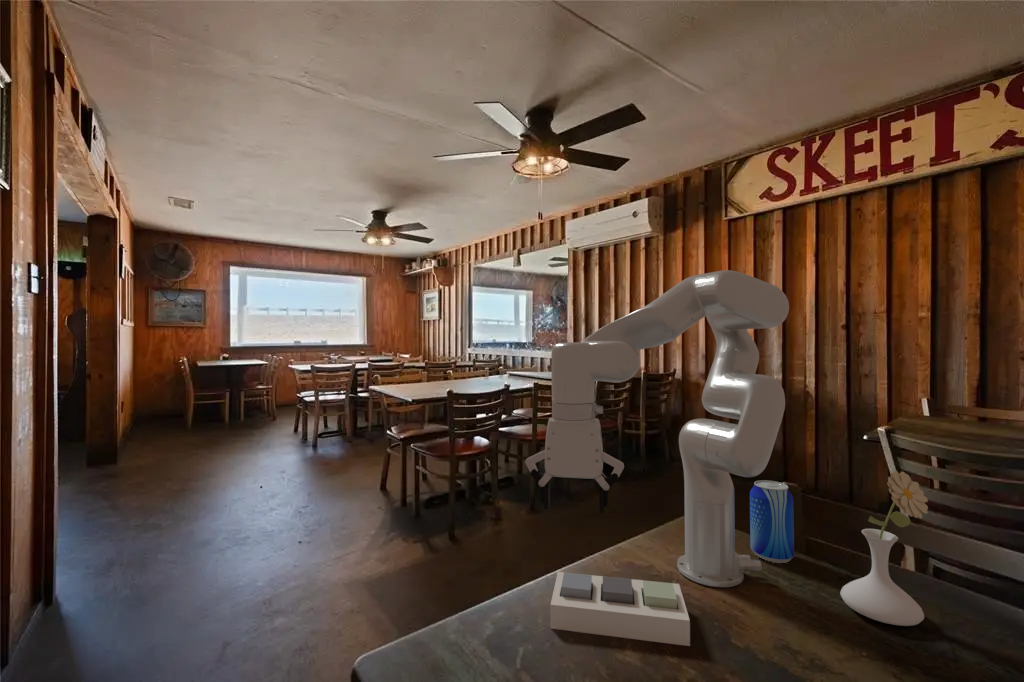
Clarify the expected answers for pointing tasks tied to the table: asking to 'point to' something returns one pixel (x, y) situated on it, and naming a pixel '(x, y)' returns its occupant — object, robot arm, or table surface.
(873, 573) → the flower in vase
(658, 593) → the sage key
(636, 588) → the keypad
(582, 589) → the slate key
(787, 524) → the beer can
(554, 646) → the table surface
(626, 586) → the charcoal key
